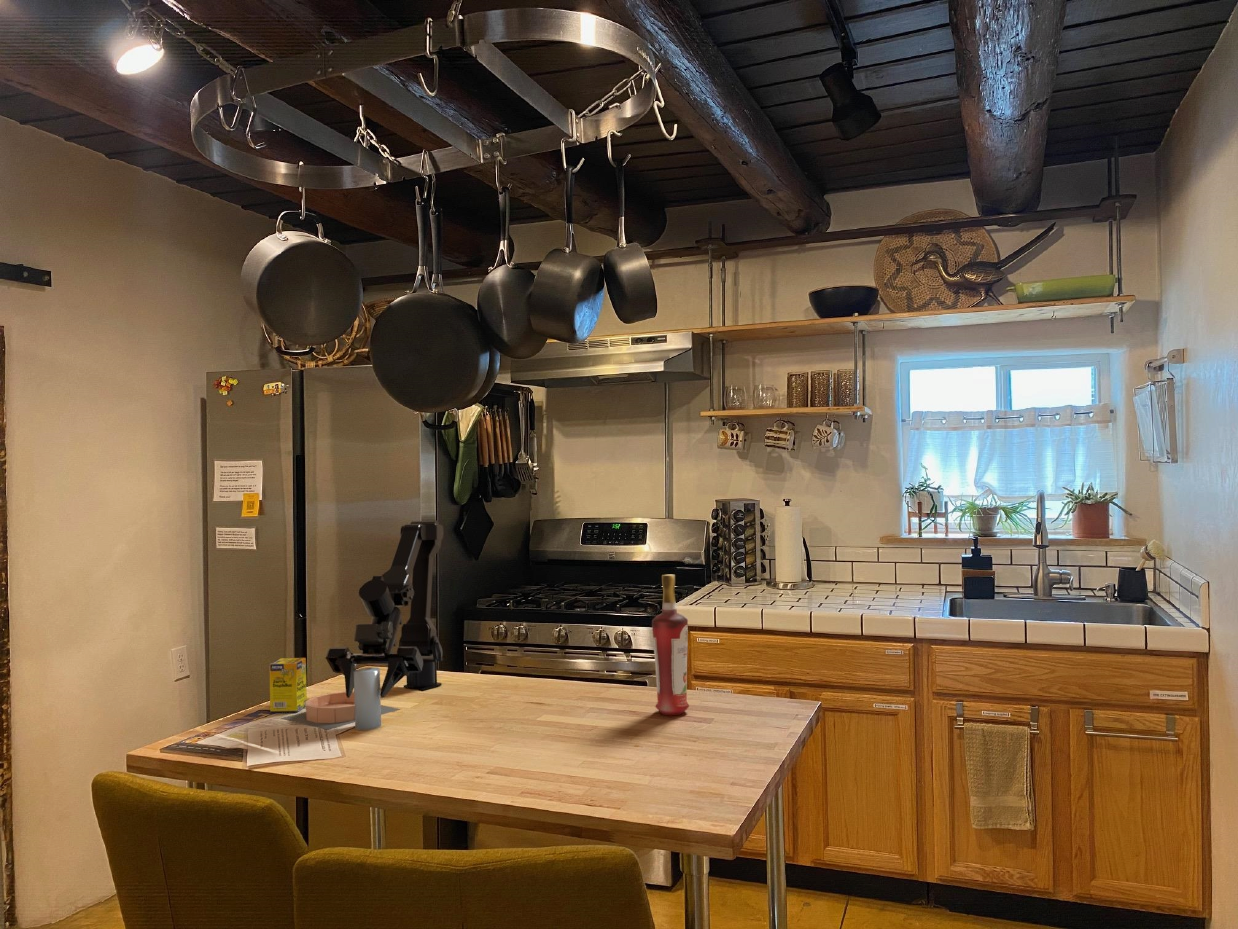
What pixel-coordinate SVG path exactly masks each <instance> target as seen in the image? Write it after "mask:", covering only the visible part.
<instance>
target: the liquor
mask: <svg viewBox="0 0 1238 929" xmlns="http://www.w3.org/2000/svg"><path fill="white" fill-rule="evenodd" d="M661 584H662V590H663V593H662V610H661V611H662V612H661V613H660V614H658V615H656V616H655V617H654V618H652V620H651V628H652V629H651V630H652V640H653V641H652V642H653V644H652V645H653V654H654V664H655V680H656V681H655V682H656V693H657V694H656V695H657V697H656V698H657V699H656V700H657V702H656V703H655V706H654V707H655V708H656V709H657V711H659V712H660V714H662V715H663V716H664V715H665V716H668V717H670V716H671V717H672V716H673V717H674V716H681V715H682V714H684V713H685V712H686V711H687V710H688V709H689V708H690V704H689V703H688V692H687V690H688V688H687V686H688V685H687V684H688V682H687V681H688V680H687V679H688V676H687V675H688V670H687V669H688V646H689V645H688V642H689V641H688V640H689V639H688V635H689V634H688V633H689V632H688V630H689V629H688V627H689V623H688V622H689V620H688V618H686V617H685V616H684V615H682V614H681V613H678V611H677V603H676V594H675V587H676V574H662V575H661Z"/></svg>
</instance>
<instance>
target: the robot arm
mask: <svg viewBox="0 0 1238 929" xmlns="http://www.w3.org/2000/svg"><path fill="white" fill-rule="evenodd" d="M444 535H445V534H444V526H443V525H442V524H440V523H439V521H438V520H412V521H411V522H410V523H405V524H404V525H401V527H400V537H399V541H398V544H397V547H396V550H395V553H394V556H393V559H392V560H391V565H390V567H389V569H388V570H387V571H385V572H384V573H383V574H382V575H373V576H372V579H371V580H368V581H366V582H365V583H364V584H363V585H362V586H360V588H359V591H358V596H359V598H360V600H361V602H362V604H363V606H364V608H365V610H366V612H367V614H368V615H369V616H370V617H371V622H370V623H359V624H356V625H355V632H354V639H353V640H354V642H357V643H358V644H357V645H358V646H357V647H358V650H359V651H362V652H361V653H353V652H351V649H350V648H349V647H347V646H345V647H335V646H334V647H331V648H329V649H328V650H327V652H326V655H325V660H326V661H327V663H328V665H329V667H330V668H331V671H332V672H333V673H335V674H342V675H343V676H344V683H345V686H344V687H345V691H346V696H347V698H350V696H351V694H352V692H353V691H354V671H355V670H357V668H356V666H357V665H387V671H386V674H385V676H384V680H383V683H382V686H381V687H380V697H381V698H385V696H387V694H388V693H389V692H390V691H391V690H392V689H393V688H394V686H395V685H397V684H398V682H400V681H401V680H402V679H403V678H404V677H405V678H406V684H404V685H403V688H405V689H410V690H415V691H420V692H421V691H426V690H429V689H433V688H437V687H440V686H442V684H443V683H442V682H438V673H437V672H438V671H437V669H438V668H437V667H438V664H437V663H438V662H442V661H443V654H444V653H443V648H442V645H441V643H440V640H439V638H438V635H437V629H436V627H435V625H434V623H433V621H432V618H431V612H432V611H431V608H432V588H433V569H434V565H433V564H434V558H435V556H436V555H437V553H439V550H440V549H441V547H442V540H443V539H444ZM411 577H412V578H411ZM409 605H410V609H409V611H410V612H409V618H408V619H407V621H406V623H403V618H402V611H401V609H400V607H403V608H404V607H408V606H409ZM400 625H402V626H401V630H400V631H401V632H400V633H401V634H400V638H399V639H398V640H399V641H398V642H397V640H396V637H397V635H398V634H397V633H398V630H399V627H400ZM397 643H398V647H397V649H396V650H397V651H396V653H393V648H394V647H396V646H397Z"/></svg>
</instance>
